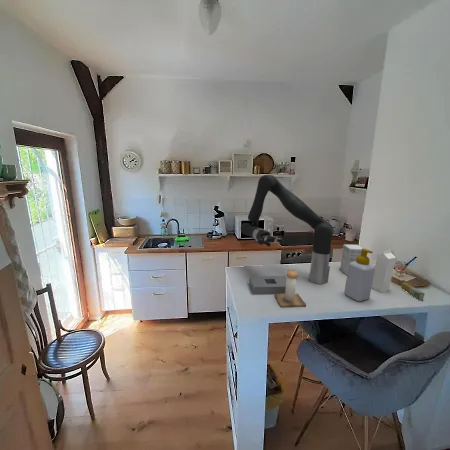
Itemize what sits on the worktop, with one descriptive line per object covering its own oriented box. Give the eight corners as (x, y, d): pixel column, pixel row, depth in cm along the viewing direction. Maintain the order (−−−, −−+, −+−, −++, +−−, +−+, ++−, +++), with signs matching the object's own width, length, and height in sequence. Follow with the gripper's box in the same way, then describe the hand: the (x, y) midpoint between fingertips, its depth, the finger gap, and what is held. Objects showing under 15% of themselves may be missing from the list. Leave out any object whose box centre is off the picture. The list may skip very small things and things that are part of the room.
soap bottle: (359, 302, 120) (367, 253, 114) (342, 294, 127) (350, 247, 121) (370, 298, 124) (379, 251, 118) (354, 290, 131) (362, 245, 125)
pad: (297, 295, 124) (297, 293, 124) (305, 306, 115) (306, 304, 114) (274, 296, 123) (274, 294, 123) (280, 307, 113) (280, 305, 113)
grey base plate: (284, 282, 138) (285, 275, 137) (292, 293, 126) (293, 286, 125) (249, 283, 136) (249, 276, 135) (253, 294, 124) (254, 287, 123)
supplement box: (361, 276, 149) (366, 249, 145) (346, 275, 149) (350, 249, 145) (353, 269, 159) (358, 244, 155) (339, 269, 159) (343, 243, 155)
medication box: (423, 300, 124) (425, 293, 123) (418, 300, 124) (420, 293, 123) (405, 289, 136) (406, 282, 135) (400, 288, 135) (401, 282, 134)
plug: (292, 296, 121) (295, 270, 118) (296, 301, 117) (299, 274, 113) (282, 296, 121) (285, 270, 117) (286, 302, 116) (288, 274, 113)
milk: (388, 290, 133) (397, 251, 127) (381, 292, 130) (389, 253, 125) (378, 285, 138) (386, 248, 133) (370, 287, 136) (378, 249, 130)
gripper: (250, 230, 140) (265, 238, 125) (272, 228, 145) (289, 235, 130) (250, 243, 141) (264, 252, 127) (272, 240, 146) (288, 249, 132)
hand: (277, 243), depth 128 cm, fingers open, 8 cm apart
